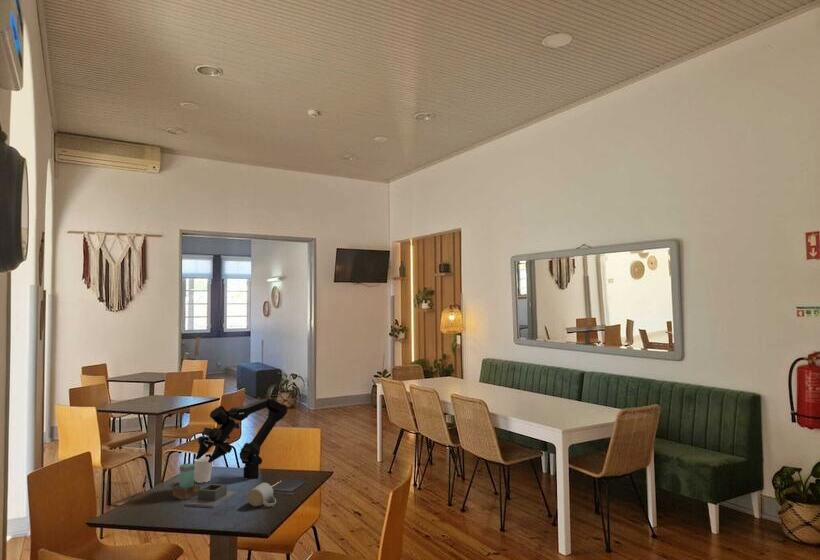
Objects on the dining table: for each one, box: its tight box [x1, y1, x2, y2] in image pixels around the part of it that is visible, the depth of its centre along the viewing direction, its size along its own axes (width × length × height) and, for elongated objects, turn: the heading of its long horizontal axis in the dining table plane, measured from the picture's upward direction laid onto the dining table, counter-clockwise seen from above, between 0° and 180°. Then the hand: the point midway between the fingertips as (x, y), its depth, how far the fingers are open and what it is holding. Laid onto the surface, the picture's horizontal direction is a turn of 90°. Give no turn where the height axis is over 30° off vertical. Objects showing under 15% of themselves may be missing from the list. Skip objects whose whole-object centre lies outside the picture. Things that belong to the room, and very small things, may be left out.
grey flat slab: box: [270, 478, 310, 496], centre depth 246 cm, size 20×2×15 cm
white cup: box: [193, 456, 213, 484], centre depth 257 cm, size 8×8×10 cm
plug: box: [179, 462, 195, 489], centre depth 236 cm, size 4×4×13 cm
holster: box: [172, 483, 201, 501], centre depth 236 cm, size 8×7×4 cm
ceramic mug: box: [247, 482, 277, 508], centre depth 224 cm, size 11×8×8 cm
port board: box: [186, 483, 237, 509], centre depth 230 cm, size 18×12×5 cm, turn 168°
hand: (202, 460), depth 242 cm, fingers open, 9 cm apart
